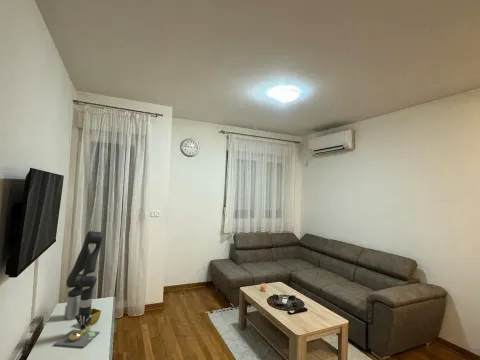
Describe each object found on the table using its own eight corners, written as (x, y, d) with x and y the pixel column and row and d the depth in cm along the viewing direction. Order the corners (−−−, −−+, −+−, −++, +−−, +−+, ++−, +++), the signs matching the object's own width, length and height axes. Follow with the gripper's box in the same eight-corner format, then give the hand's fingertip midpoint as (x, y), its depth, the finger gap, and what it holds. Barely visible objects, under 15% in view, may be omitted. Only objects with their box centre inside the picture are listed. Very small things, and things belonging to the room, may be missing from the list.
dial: (74, 343, 159) (74, 336, 160) (66, 340, 161) (66, 334, 162) (93, 331, 174) (94, 325, 174) (86, 329, 176) (86, 323, 176)
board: (53, 345, 157) (53, 343, 157) (73, 330, 175) (73, 328, 175) (85, 348, 157) (85, 345, 157) (101, 332, 175) (101, 330, 175)
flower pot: (100, 322, 188) (101, 310, 189) (90, 327, 180) (91, 315, 181) (92, 319, 191) (93, 308, 192) (81, 325, 183) (82, 312, 184)
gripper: (72, 306, 170) (70, 331, 169) (90, 308, 169) (87, 333, 168) (80, 301, 178) (78, 325, 177) (97, 303, 176) (95, 327, 176)
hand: (82, 329), depth 173 cm, fingers closed
